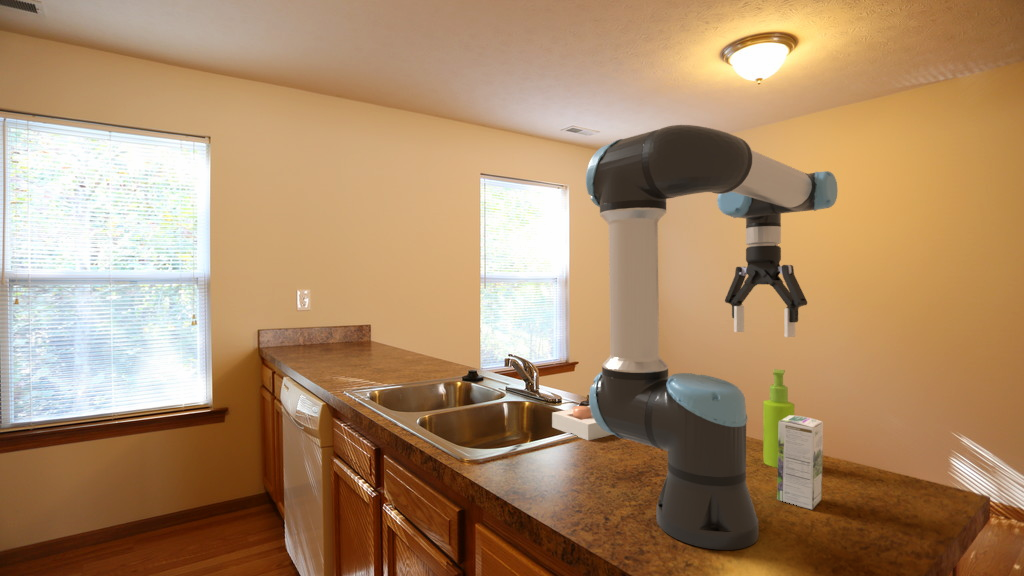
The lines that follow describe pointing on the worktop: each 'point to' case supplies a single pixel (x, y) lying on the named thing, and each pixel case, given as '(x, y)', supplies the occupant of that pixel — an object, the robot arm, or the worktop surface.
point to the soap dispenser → (774, 417)
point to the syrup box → (800, 461)
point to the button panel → (577, 425)
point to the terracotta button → (581, 412)
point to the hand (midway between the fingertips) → (763, 334)
